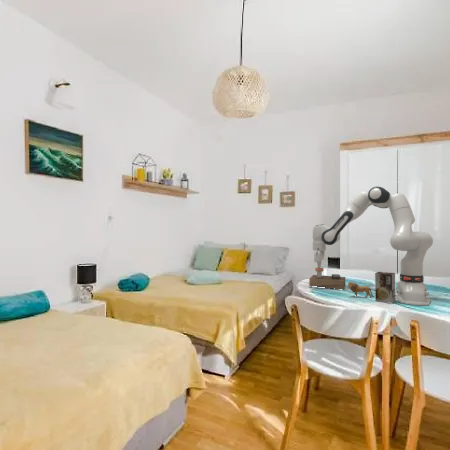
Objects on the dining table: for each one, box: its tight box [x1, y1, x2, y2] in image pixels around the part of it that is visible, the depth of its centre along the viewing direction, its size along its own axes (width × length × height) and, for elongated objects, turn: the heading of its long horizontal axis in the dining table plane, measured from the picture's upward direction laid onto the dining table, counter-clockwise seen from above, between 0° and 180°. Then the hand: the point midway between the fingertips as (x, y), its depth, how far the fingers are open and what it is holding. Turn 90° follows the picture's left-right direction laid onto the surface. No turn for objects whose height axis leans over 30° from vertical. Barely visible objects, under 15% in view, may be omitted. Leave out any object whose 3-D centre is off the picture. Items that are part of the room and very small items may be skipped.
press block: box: [308, 274, 346, 290], centre depth 219 cm, size 16×22×6 cm
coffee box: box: [374, 271, 396, 304], centre depth 179 cm, size 9×6×16 cm
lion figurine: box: [347, 281, 375, 299], centre depth 188 cm, size 15×5×9 cm, turn 70°
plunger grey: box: [331, 273, 341, 279], centre depth 217 cm, size 6×6×8 cm
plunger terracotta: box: [314, 266, 325, 278], centre depth 222 cm, size 6×6×8 cm
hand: (319, 267), depth 221 cm, fingers closed
